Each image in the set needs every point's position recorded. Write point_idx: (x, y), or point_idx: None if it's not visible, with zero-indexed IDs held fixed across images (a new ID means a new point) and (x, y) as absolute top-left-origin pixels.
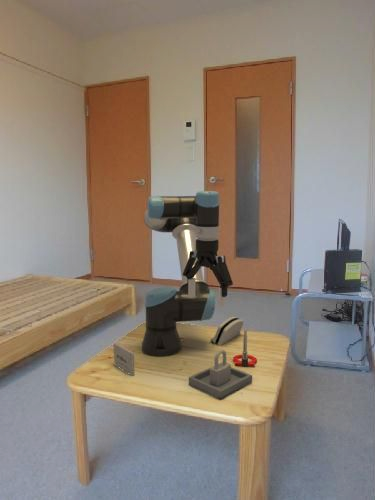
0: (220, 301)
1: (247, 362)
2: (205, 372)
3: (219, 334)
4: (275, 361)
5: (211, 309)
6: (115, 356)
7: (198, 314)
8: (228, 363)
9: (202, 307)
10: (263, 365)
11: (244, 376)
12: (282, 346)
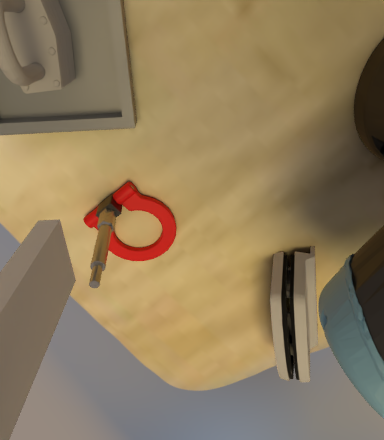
0: (18, 253)
1: (97, 209)
2: (109, 18)
3: (290, 278)
4: (79, 282)
5: (326, 313)
6: None
7: (366, 252)
8: (34, 90)
9: (368, 290)
10: (79, 242)
11: (11, 120)
12: (141, 354)
